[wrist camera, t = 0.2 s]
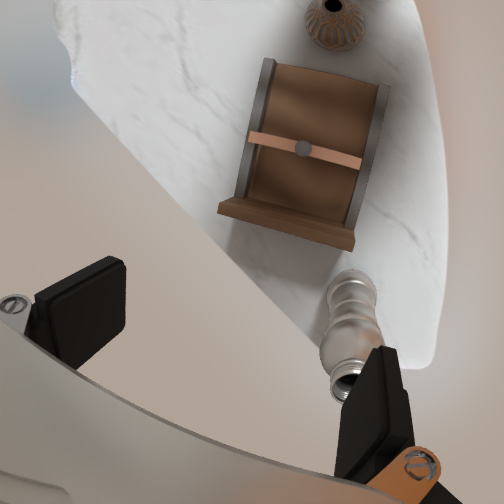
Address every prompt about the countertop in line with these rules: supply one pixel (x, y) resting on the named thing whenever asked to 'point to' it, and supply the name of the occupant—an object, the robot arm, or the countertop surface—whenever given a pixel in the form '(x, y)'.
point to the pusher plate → (305, 149)
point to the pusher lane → (308, 168)
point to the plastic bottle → (349, 330)
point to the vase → (335, 24)
